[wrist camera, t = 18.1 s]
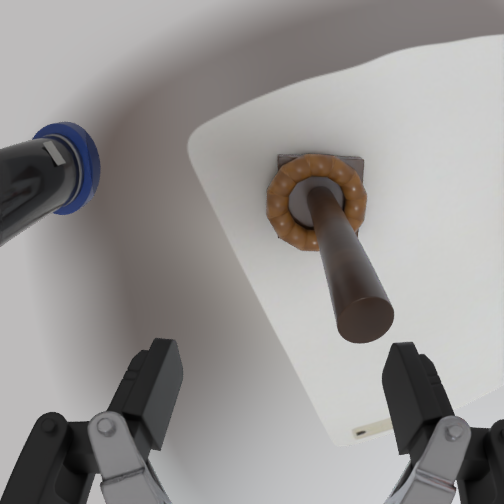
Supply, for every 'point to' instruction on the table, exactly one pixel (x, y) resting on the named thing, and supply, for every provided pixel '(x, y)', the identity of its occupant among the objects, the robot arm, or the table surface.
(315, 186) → the peg stand
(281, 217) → the brown segmented ring
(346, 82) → the table surface
